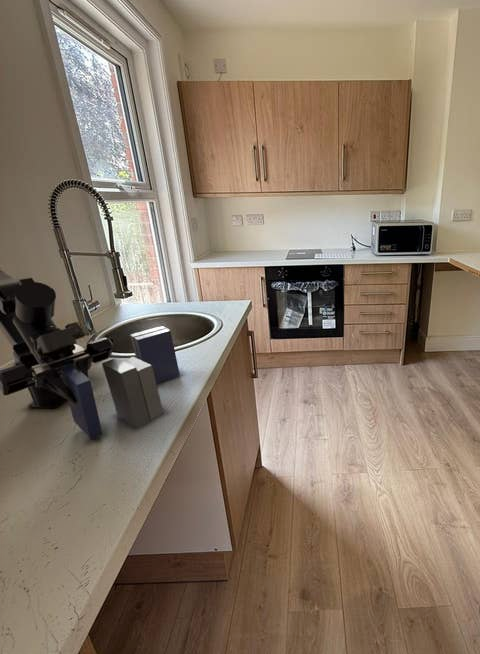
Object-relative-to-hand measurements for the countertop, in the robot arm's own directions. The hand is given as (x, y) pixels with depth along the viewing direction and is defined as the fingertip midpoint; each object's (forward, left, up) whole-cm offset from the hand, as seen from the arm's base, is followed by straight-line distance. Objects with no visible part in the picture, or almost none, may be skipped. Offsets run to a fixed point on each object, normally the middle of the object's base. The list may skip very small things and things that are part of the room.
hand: (82, 399), depth 68 cm
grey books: (+6, +7, -8) cm, 12 cm away
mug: (-21, +23, -8) cm, 32 cm away
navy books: (+2, +23, -8) cm, 24 cm away
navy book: (-2, +1, -7) cm, 8 cm away
